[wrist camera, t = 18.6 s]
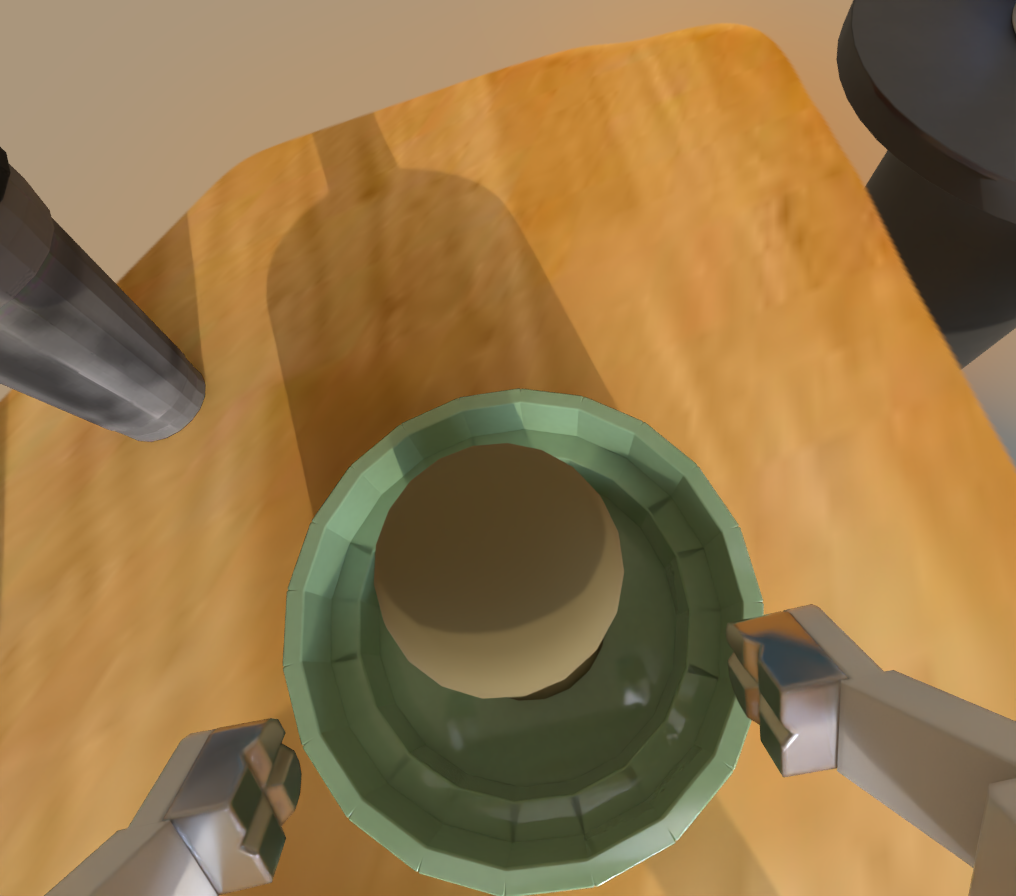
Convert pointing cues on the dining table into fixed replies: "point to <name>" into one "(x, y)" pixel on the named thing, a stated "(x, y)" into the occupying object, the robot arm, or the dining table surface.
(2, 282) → the beverage cup
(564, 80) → the dining table surface
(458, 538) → the brown peanut shape
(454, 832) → the bowl
